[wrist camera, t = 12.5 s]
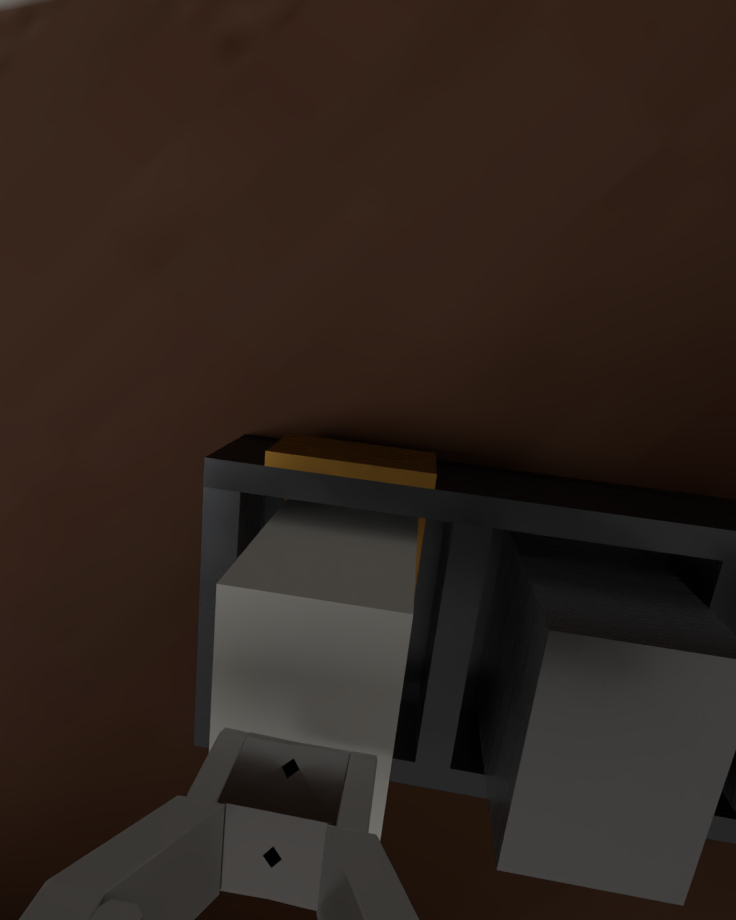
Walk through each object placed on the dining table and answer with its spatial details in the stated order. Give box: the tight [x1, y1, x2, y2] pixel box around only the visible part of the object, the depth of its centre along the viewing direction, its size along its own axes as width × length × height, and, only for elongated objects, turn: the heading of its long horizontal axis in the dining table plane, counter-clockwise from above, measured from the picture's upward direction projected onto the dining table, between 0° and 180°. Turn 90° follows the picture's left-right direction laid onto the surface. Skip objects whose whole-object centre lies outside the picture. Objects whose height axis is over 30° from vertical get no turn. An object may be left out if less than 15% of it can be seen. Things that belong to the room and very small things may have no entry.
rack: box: [194, 433, 736, 906], centre depth 14 cm, size 21×9×7 cm, turn 84°
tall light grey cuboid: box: [209, 499, 418, 841], centre depth 14 cm, size 4×6×6 cm, turn 174°
